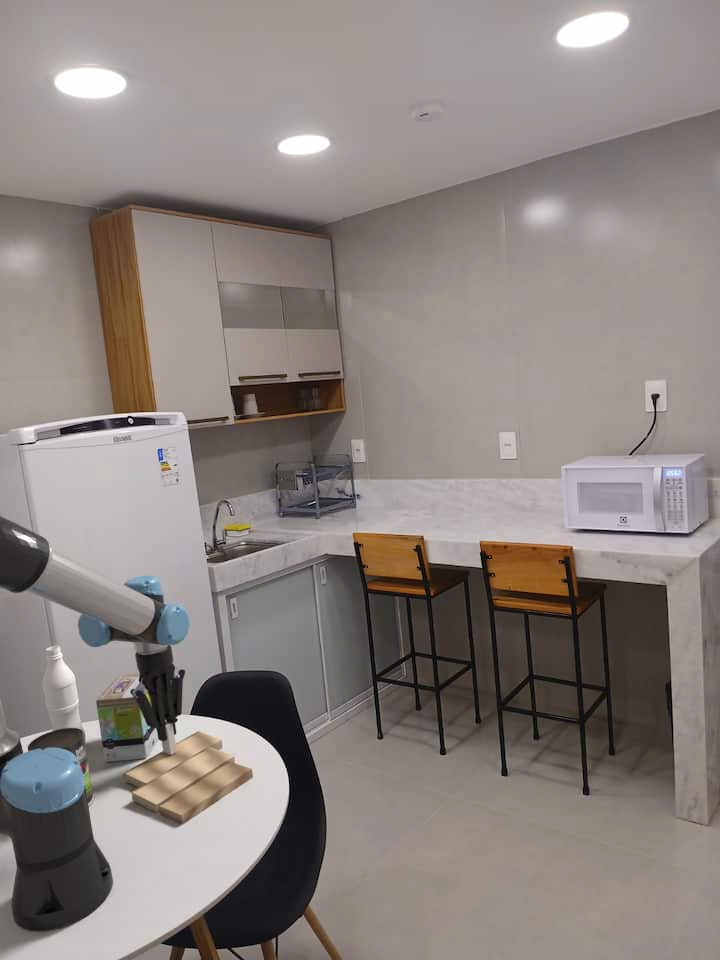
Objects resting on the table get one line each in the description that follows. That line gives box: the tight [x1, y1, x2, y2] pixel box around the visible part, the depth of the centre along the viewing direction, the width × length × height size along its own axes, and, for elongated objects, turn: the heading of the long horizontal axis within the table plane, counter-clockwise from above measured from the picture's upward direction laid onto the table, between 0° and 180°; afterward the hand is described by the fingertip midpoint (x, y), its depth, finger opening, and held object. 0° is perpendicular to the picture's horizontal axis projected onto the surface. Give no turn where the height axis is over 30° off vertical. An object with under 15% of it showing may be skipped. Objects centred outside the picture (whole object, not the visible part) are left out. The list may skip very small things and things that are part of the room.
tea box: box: [95, 672, 159, 763], centre depth 170 cm, size 15×10×15 cm
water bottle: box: [41, 645, 87, 744], centre depth 171 cm, size 7×7×25 cm
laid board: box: [158, 761, 254, 825], centre depth 145 cm, size 18×7×2 cm, turn 142°
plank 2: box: [131, 746, 236, 814], centre depth 151 cm, size 20×8×2 cm, turn 142°
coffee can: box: [27, 728, 95, 807], centre depth 147 cm, size 10×10×14 cm
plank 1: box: [123, 731, 224, 788], centre depth 159 cm, size 20×8×2 cm, turn 142°
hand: (170, 751), depth 160 cm, fingers closed
